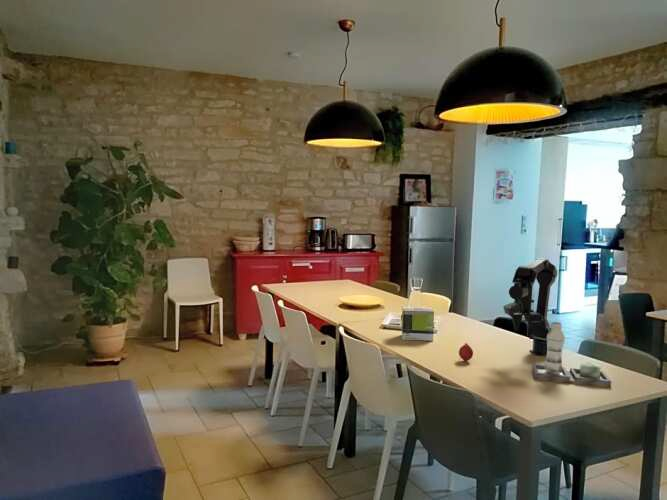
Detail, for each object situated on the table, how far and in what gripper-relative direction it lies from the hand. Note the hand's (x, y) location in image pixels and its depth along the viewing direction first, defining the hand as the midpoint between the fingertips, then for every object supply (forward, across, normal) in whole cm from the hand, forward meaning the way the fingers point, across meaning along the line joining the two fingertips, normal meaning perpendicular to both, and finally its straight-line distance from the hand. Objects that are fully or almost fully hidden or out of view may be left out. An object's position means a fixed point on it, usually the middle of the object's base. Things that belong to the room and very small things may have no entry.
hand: (522, 333), depth 215 cm
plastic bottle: (+12, +16, +4) cm, 21 cm away
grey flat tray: (+13, +19, +9) cm, 25 cm away
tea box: (+13, -45, -29) cm, 55 cm away
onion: (+13, -6, -22) cm, 26 cm away
